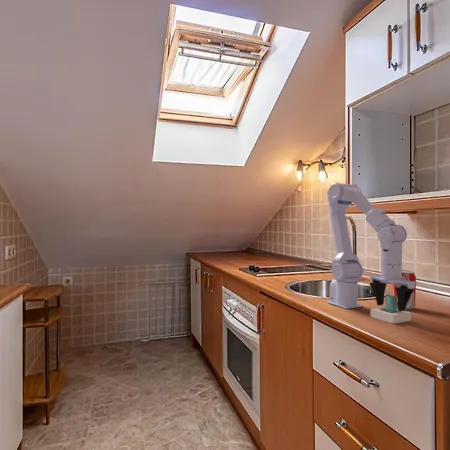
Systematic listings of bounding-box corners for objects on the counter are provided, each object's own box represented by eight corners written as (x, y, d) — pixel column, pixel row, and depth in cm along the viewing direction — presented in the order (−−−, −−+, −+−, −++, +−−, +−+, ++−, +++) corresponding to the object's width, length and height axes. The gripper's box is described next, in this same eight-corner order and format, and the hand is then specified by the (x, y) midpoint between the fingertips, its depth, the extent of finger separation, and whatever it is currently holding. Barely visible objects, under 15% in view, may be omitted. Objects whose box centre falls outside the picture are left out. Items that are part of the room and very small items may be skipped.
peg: (382, 318, 105) (382, 295, 105) (389, 316, 107) (389, 294, 107) (392, 320, 103) (392, 297, 103) (398, 319, 104) (398, 296, 104)
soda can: (400, 304, 124) (401, 269, 124) (419, 309, 118) (420, 272, 118) (388, 306, 121) (388, 270, 121) (407, 311, 114) (407, 273, 114)
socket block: (370, 316, 107) (370, 308, 107) (388, 314, 110) (388, 306, 110) (392, 323, 99) (392, 315, 99) (410, 320, 103) (411, 312, 103)
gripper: (363, 261, 110) (362, 303, 110) (404, 267, 96) (403, 314, 96) (378, 261, 113) (377, 301, 113) (420, 266, 99) (419, 312, 100)
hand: (390, 307), depth 105 cm, fingers open, 7 cm apart
